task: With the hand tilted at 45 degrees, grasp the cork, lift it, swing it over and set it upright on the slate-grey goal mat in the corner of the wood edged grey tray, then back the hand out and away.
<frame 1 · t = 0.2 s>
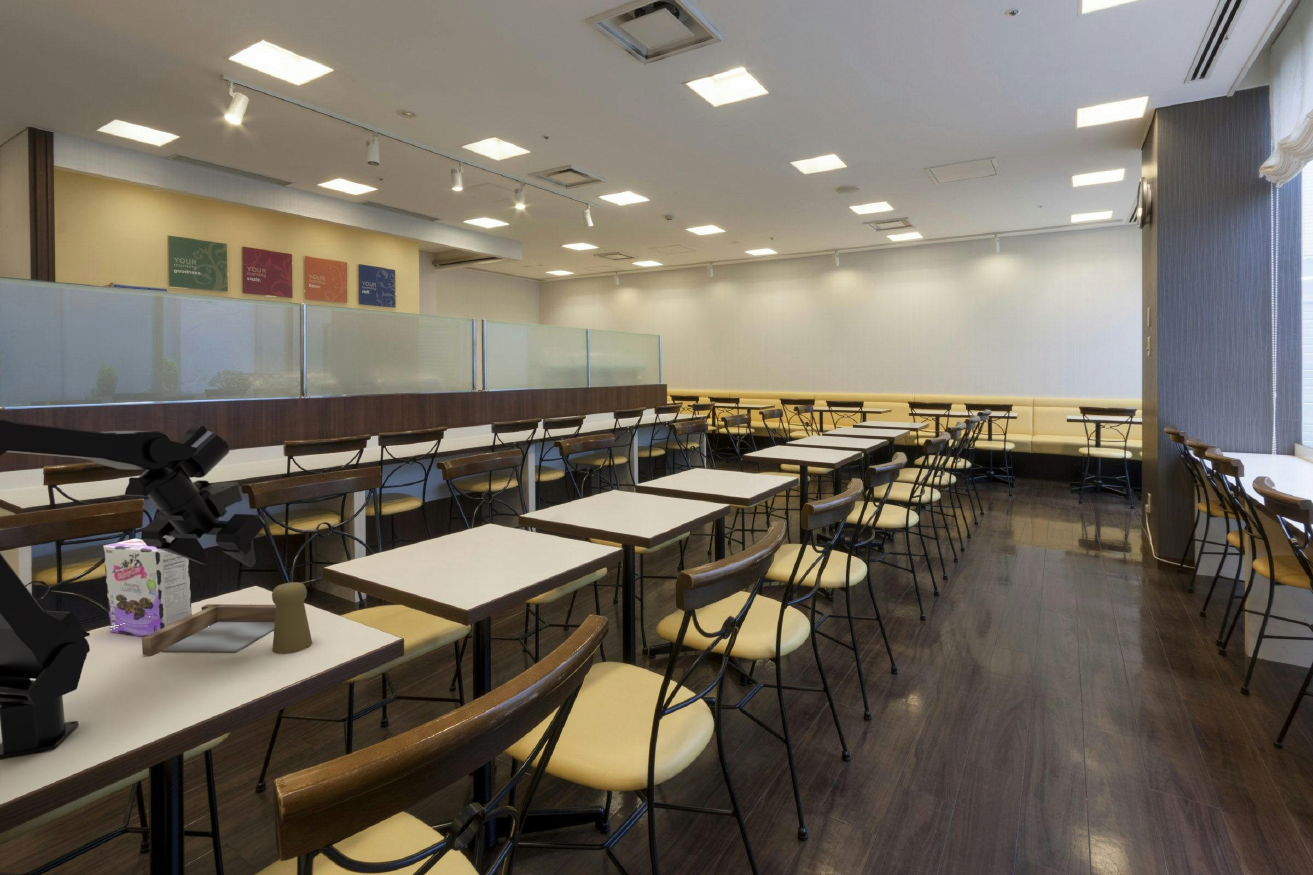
hand: (229, 563, 109), 15 cm above the table, tool tilted 35°, fingers open, 9 cm apart
candy box: (152, 631, 117), on the table
wood edged grey tray: (226, 637, 114), on the table
cork: (292, 647, 109), on the table
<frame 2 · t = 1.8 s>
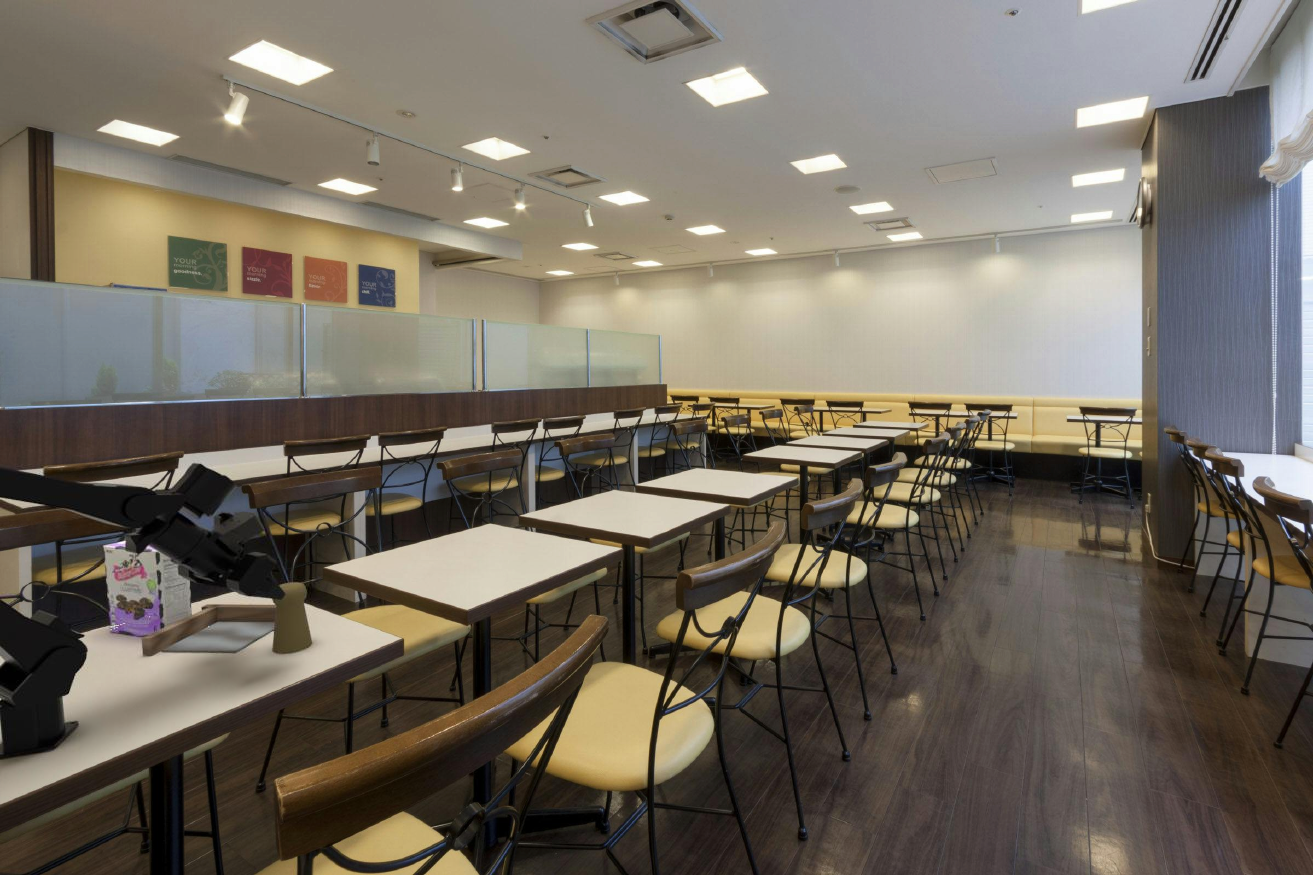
hand: (266, 592, 105), 11 cm above the table, tool tilted 45°, fingers open, 9 cm apart
nothing on the table moved.
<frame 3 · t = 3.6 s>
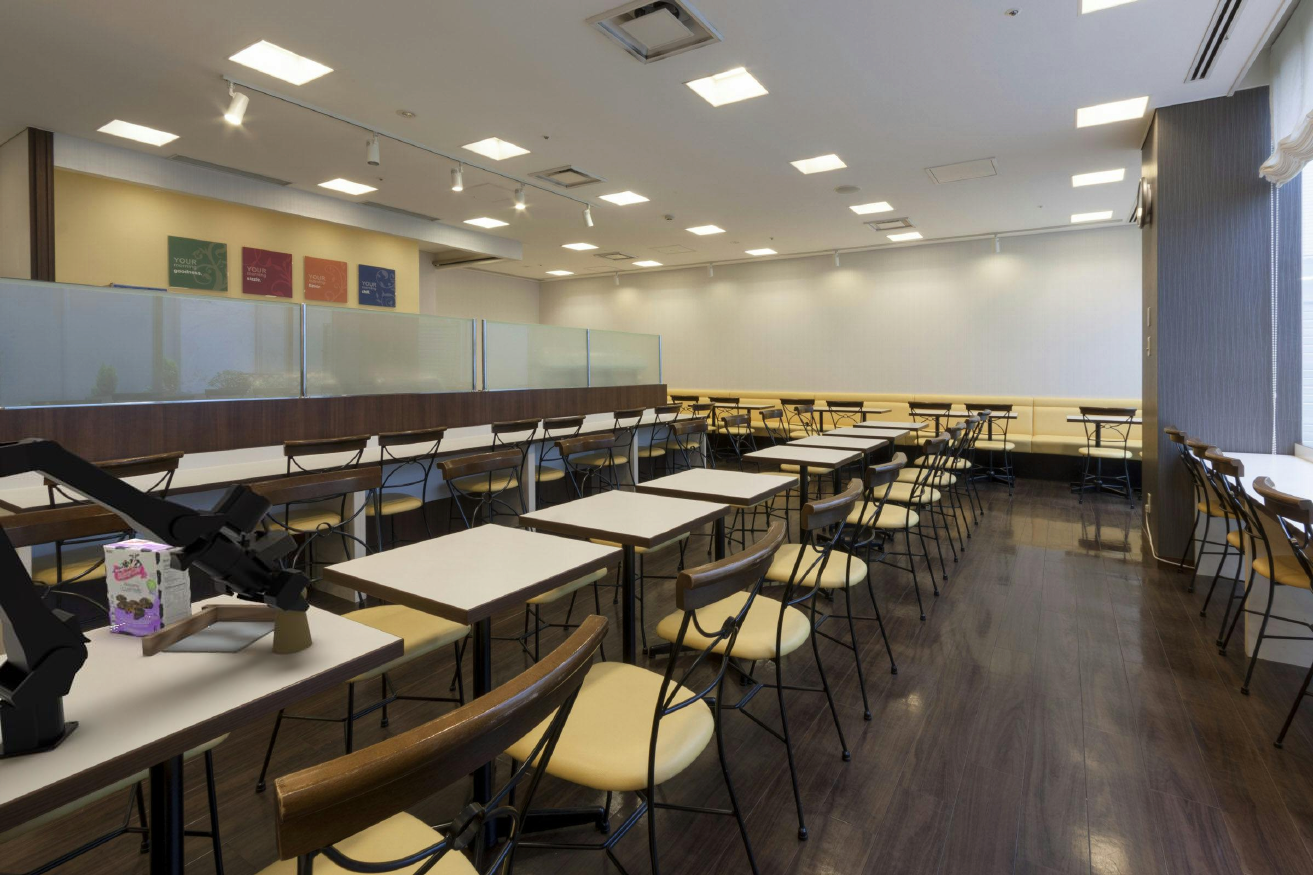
hand: (298, 606, 110), 7 cm above the table, tool tilted 45°, fingers closed on cork, 5 cm apart
cork: (292, 647, 109), on the table, touching gripper
everything else where it was.
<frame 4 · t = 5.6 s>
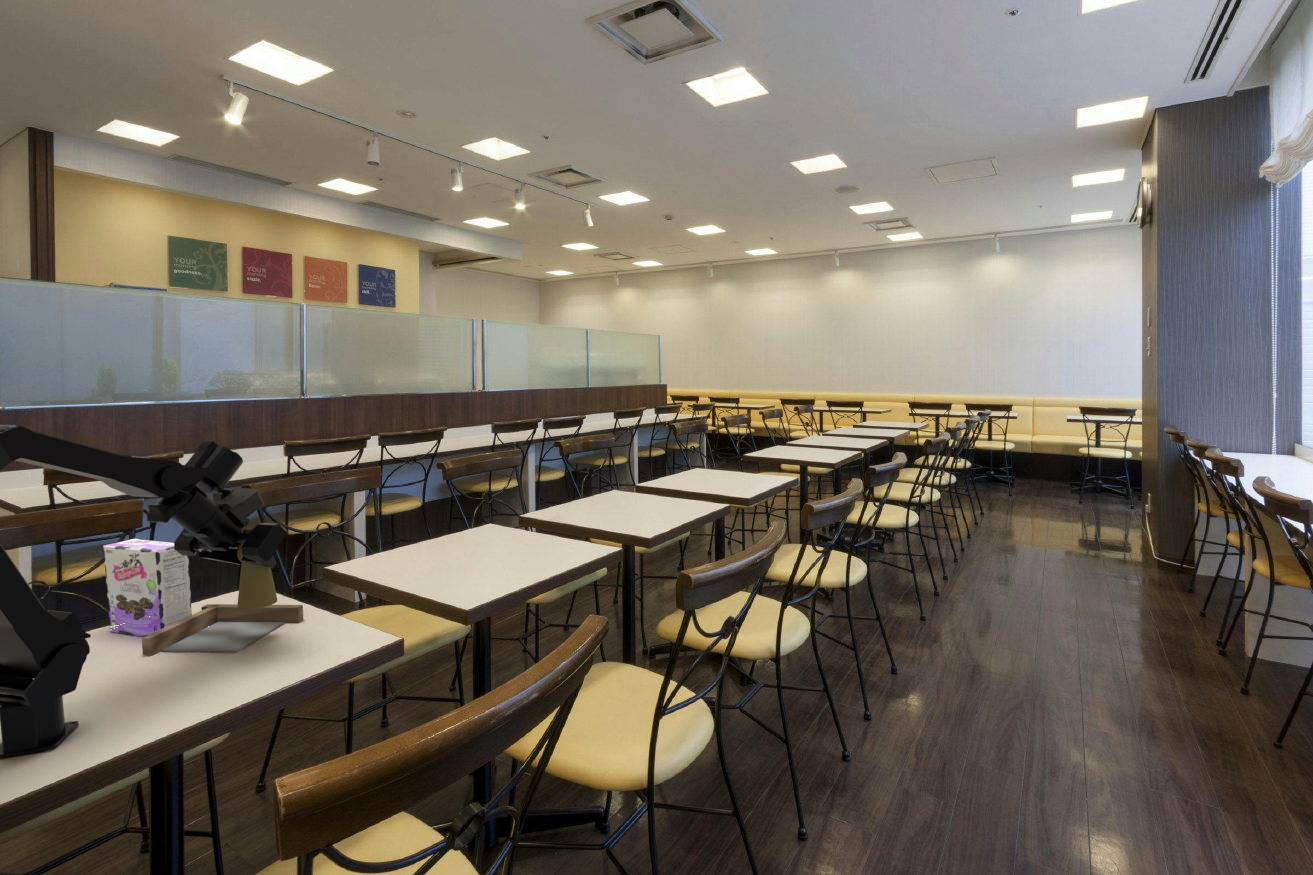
hand: (262, 564, 113), 13 cm above the table, tool tilted 45°, fingers closed on cork, 5 cm apart
cork: (257, 604, 112), point 6 cm above the table, touching gripper
everything else where it was.
when the fingers open (8 cm above the table, at t = 7.7 s): cork drops 1 cm, resting on wood edged grey tray.
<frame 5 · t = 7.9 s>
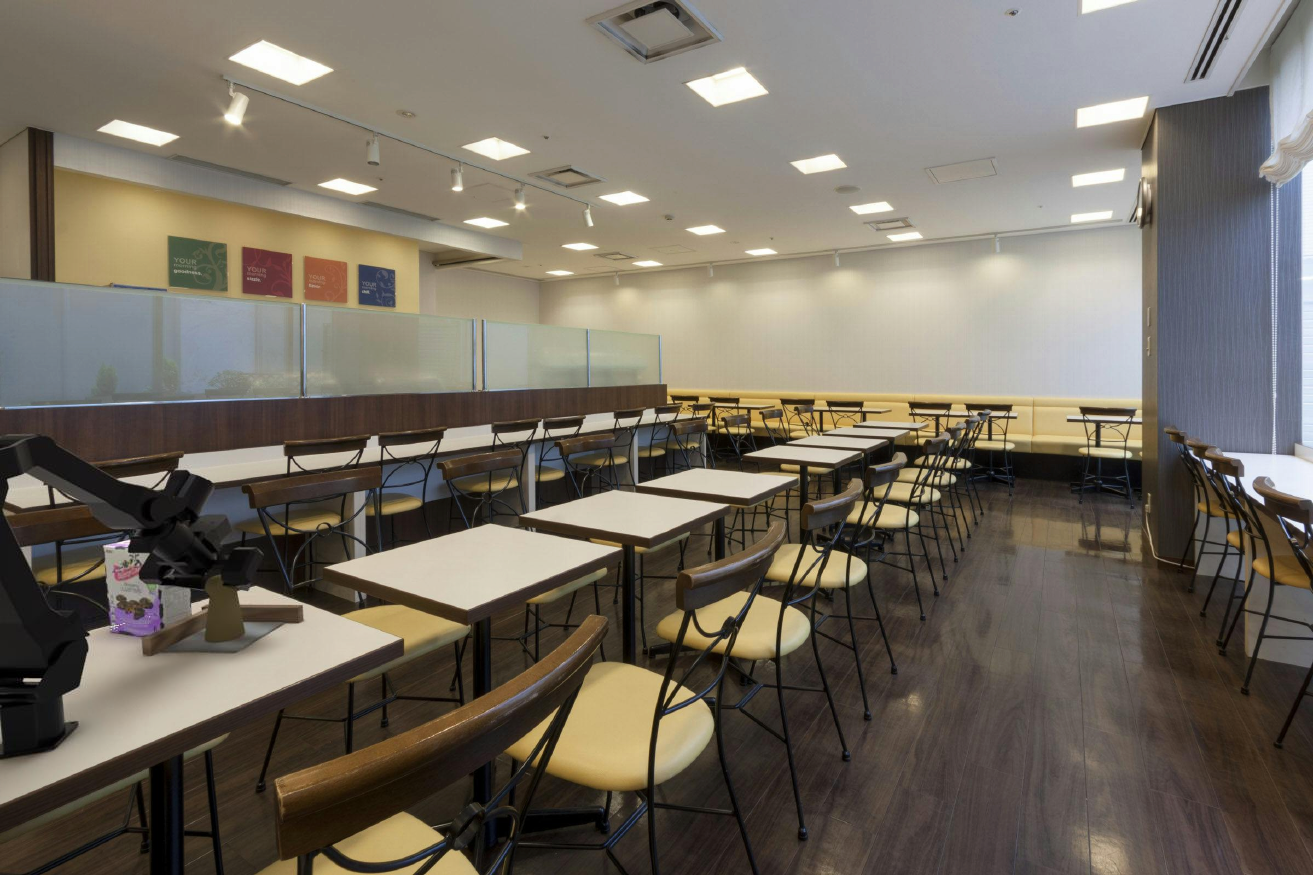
hand: (228, 588, 114), 9 cm above the table, tool tilted 45°, fingers open, 7 cm apart
cork: (225, 636, 113), resting on wood edged grey tray
everything else where it was.
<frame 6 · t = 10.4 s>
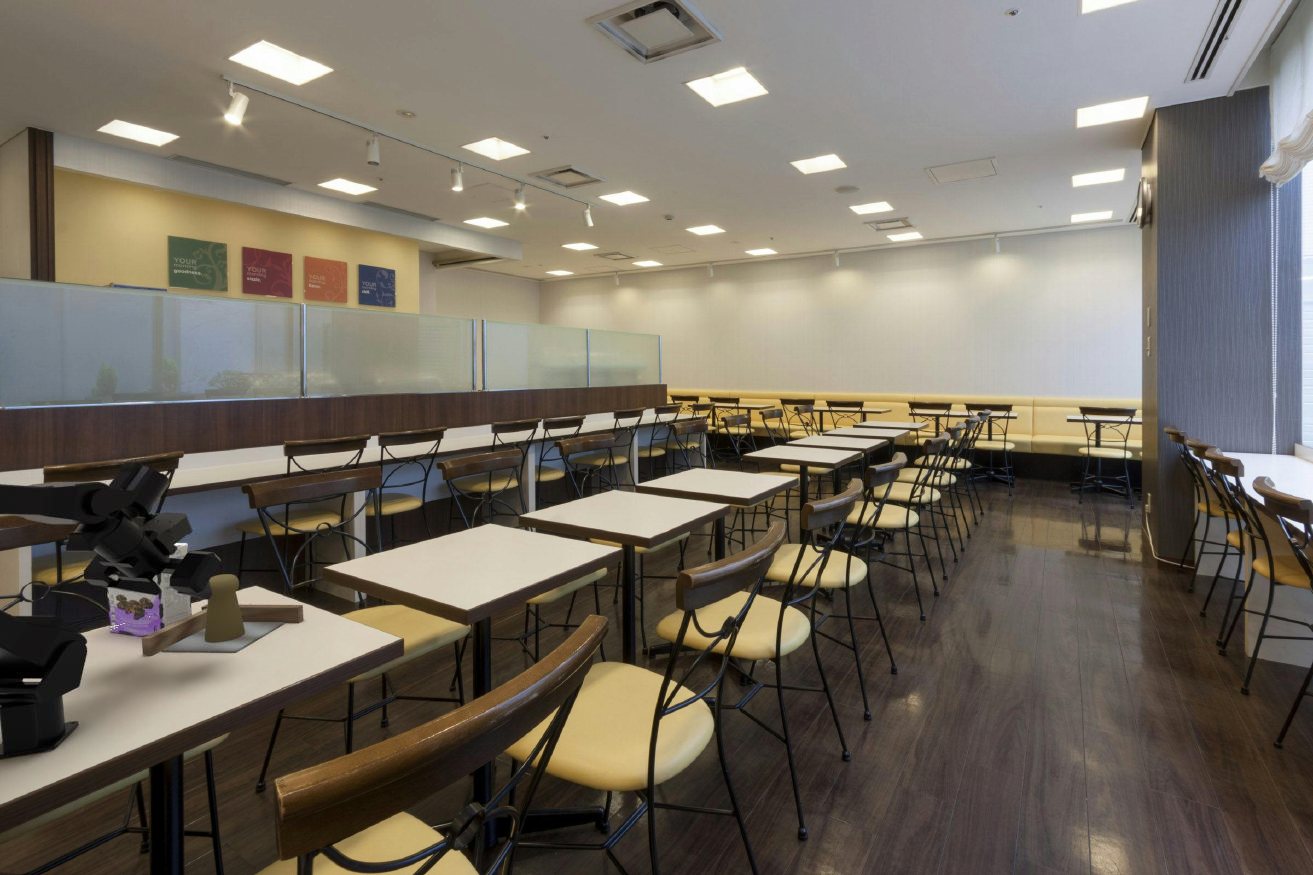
hand: (184, 594, 105), 11 cm above the table, tool tilted 45°, fingers open, 9 cm apart
nothing on the table moved.
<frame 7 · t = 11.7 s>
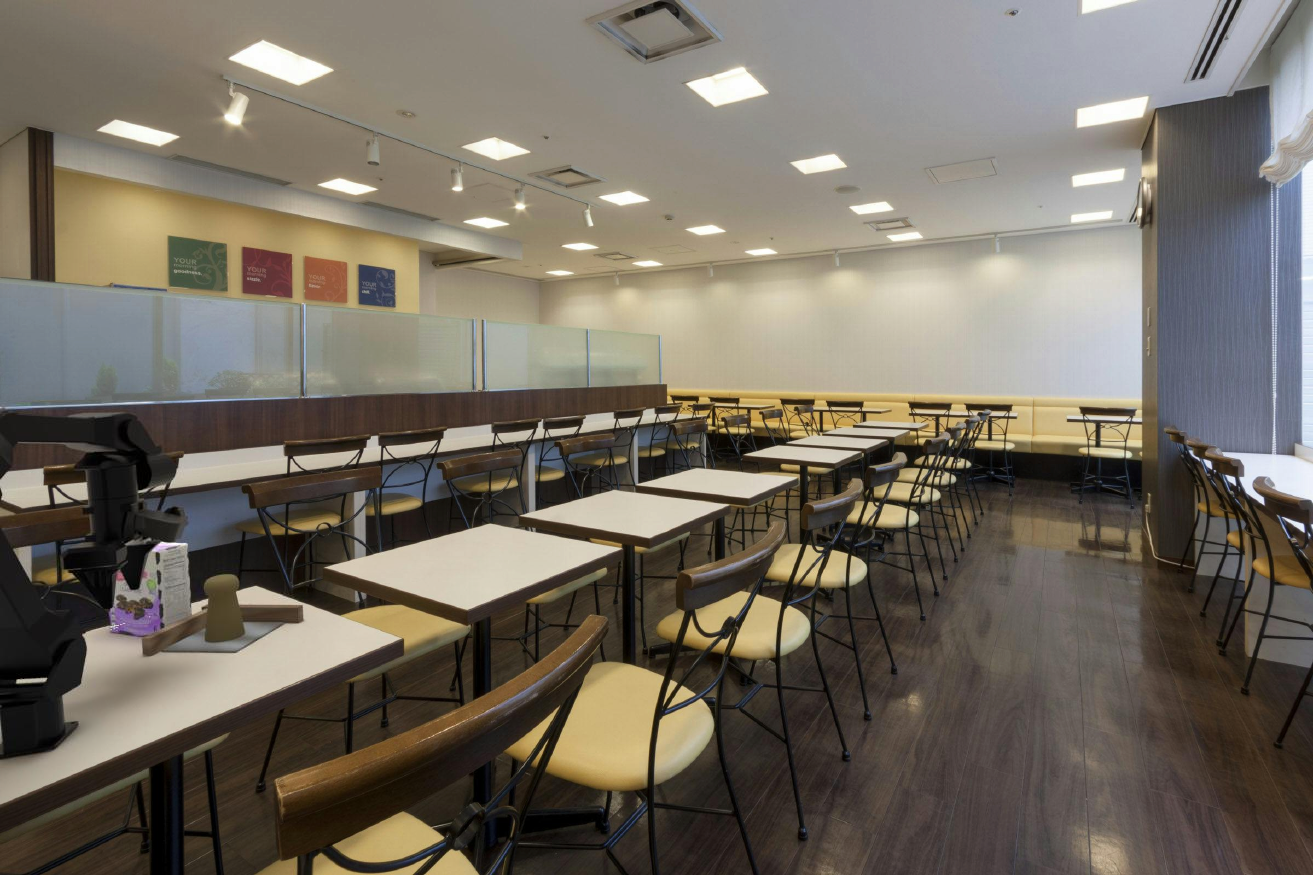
hand: (122, 598, 96), 13 cm above the table, tool pointing down, fingers open, 9 cm apart
nothing on the table moved.
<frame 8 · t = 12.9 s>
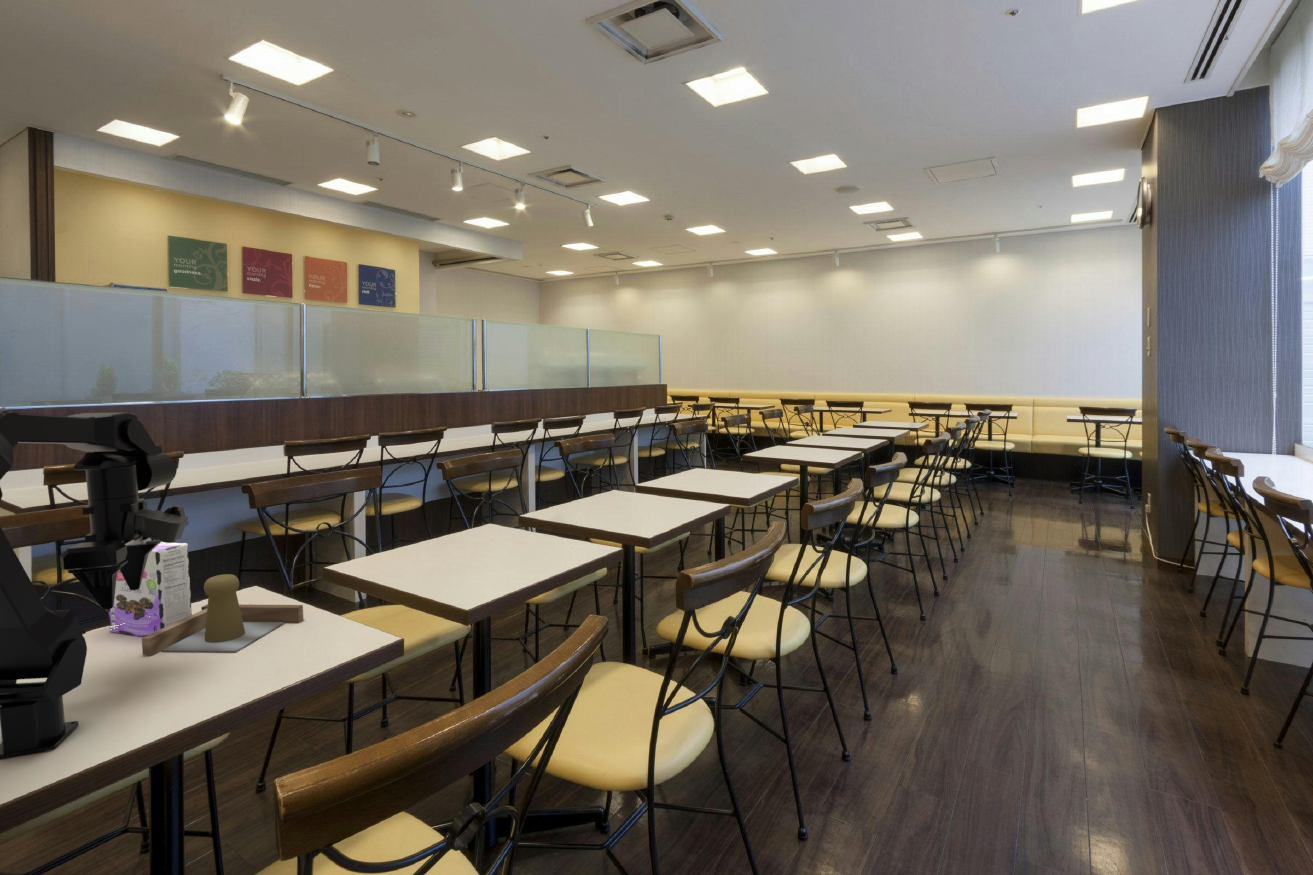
hand: (122, 598, 96), 13 cm above the table, tool pointing down, fingers open, 9 cm apart
nothing on the table moved.
at the end: cork 0.2 cm off-centre on the wood edged grey tray, point 0.1 cm above the wood edged grey tray's base; cork tilted 0°; the gripper is holding nothing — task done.
